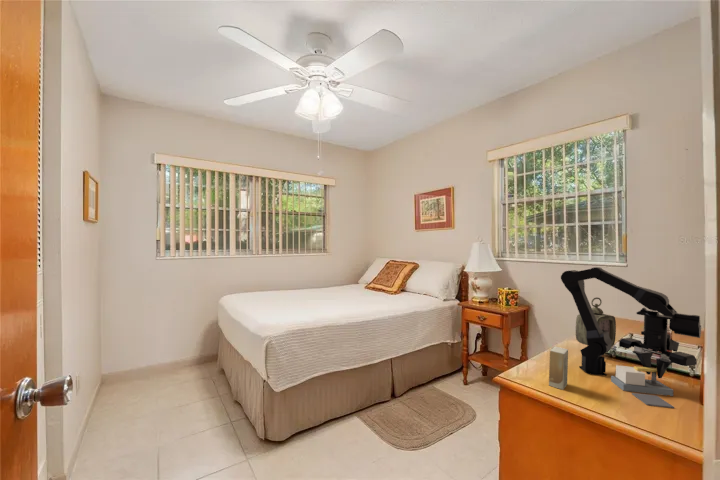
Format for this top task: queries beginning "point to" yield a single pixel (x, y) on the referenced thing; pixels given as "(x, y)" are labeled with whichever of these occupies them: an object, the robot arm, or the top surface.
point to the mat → (652, 400)
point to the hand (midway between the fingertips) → (654, 376)
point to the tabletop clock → (604, 322)
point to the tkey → (653, 370)
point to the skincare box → (558, 367)
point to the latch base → (644, 387)
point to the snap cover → (630, 375)
